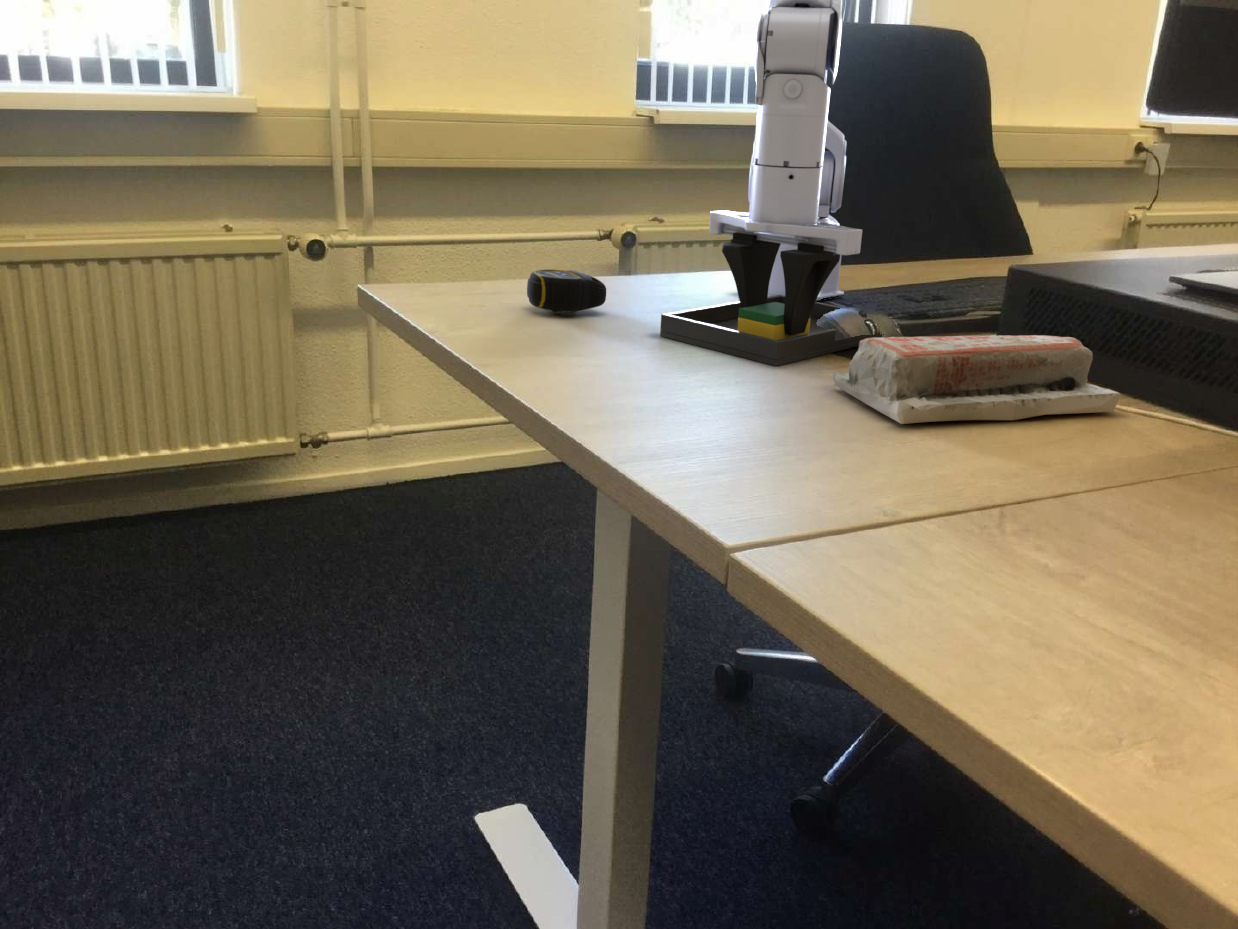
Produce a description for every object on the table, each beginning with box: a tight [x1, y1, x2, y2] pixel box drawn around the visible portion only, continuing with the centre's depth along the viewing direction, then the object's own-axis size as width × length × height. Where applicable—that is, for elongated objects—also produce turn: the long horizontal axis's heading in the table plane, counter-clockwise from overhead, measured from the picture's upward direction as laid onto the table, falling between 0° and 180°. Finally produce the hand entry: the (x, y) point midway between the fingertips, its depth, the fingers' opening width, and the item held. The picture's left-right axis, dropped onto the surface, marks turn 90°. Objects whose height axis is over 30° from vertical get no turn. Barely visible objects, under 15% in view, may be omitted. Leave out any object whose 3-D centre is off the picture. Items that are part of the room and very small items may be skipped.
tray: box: [659, 295, 894, 367], centre depth 95 cm, size 17×13×2 cm
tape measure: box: [526, 268, 607, 315], centre depth 102 cm, size 7×7×4 cm
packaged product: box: [832, 334, 1122, 425], centre depth 76 cm, size 18×5×10 cm
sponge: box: [738, 302, 811, 340], centre depth 90 cm, size 5×4×3 cm
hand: (773, 328), depth 90 cm, fingers closed on sponge, 4 cm apart
